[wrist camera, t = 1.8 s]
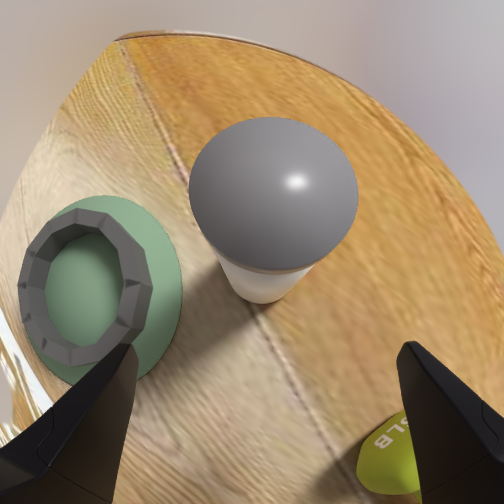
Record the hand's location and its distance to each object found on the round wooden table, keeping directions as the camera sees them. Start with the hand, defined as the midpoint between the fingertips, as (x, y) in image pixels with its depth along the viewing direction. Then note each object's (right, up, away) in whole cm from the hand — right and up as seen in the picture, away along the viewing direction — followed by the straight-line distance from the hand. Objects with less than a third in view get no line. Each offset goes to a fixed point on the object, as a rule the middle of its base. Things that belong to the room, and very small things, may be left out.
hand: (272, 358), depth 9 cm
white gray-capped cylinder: (0, +2, +12) cm, 13 cm away
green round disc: (-14, 0, +12) cm, 18 cm away
